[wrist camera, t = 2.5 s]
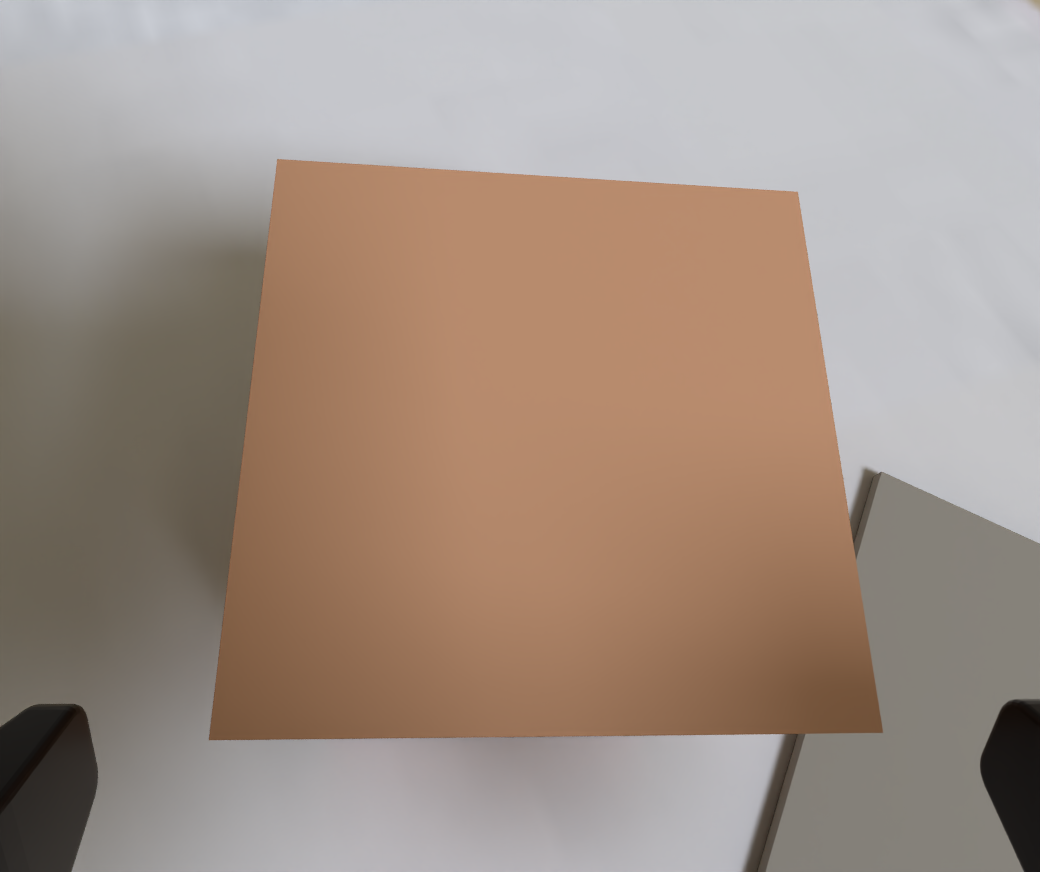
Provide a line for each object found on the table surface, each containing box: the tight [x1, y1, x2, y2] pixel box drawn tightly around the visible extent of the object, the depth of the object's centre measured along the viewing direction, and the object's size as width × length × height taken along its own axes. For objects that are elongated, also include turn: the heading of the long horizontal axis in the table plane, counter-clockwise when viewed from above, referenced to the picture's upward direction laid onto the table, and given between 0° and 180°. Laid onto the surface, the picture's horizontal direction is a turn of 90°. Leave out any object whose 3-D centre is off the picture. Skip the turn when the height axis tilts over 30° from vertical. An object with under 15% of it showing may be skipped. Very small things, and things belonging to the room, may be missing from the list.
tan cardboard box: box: [209, 159, 883, 740], centre depth 14 cm, size 7×7×10 cm
